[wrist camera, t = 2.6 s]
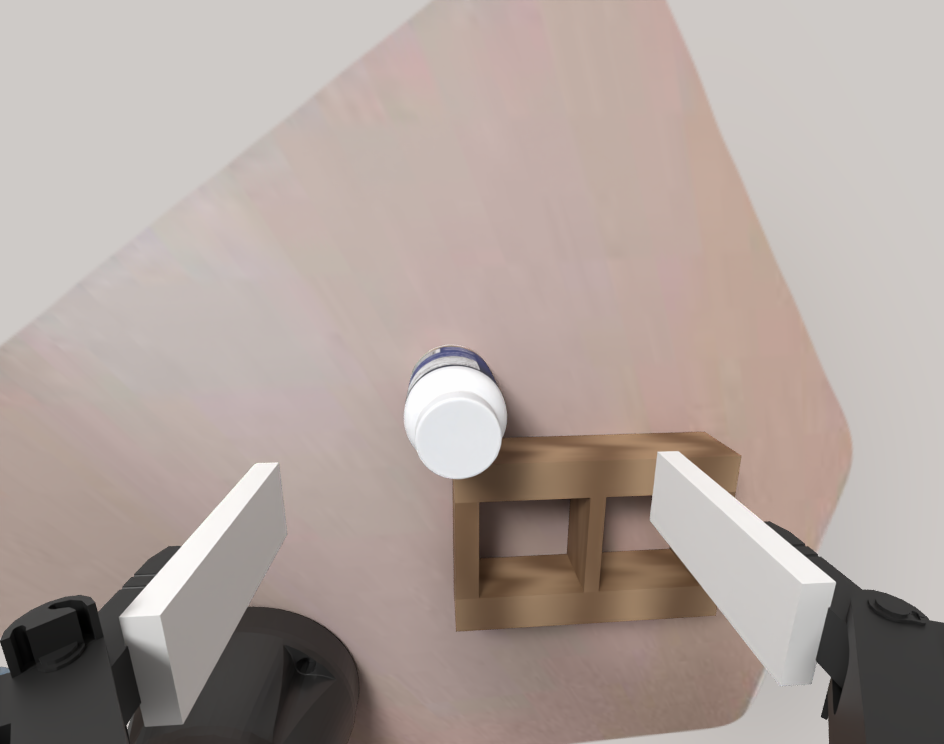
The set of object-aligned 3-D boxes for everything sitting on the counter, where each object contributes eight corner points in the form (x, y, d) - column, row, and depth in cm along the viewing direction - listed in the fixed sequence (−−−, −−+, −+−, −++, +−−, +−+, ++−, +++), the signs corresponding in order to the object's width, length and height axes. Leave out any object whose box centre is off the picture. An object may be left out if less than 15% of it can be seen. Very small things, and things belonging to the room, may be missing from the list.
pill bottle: (491, 420, 31) (516, 492, 21) (412, 422, 30) (401, 497, 21) (492, 341, 29) (518, 382, 20) (408, 343, 29) (395, 385, 19)
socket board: (453, 588, 34) (456, 631, 30) (452, 439, 31) (454, 465, 27) (684, 576, 35) (715, 615, 31) (704, 431, 32) (741, 455, 28)
